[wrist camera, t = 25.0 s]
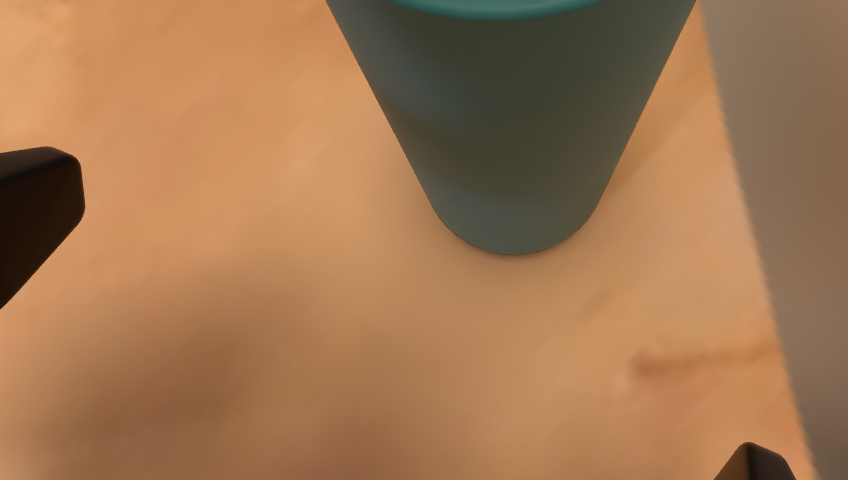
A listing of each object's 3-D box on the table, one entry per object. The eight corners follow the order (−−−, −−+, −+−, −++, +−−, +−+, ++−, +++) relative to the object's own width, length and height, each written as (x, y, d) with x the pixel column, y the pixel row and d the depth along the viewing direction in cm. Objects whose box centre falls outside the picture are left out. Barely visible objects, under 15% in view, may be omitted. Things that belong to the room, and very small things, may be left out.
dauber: (512, 298, 18) (501, 130, 5) (394, 178, 19) (149, -206, 6) (638, 177, 18) (913, -263, 6) (514, 64, 19) (509, -535, 6)
